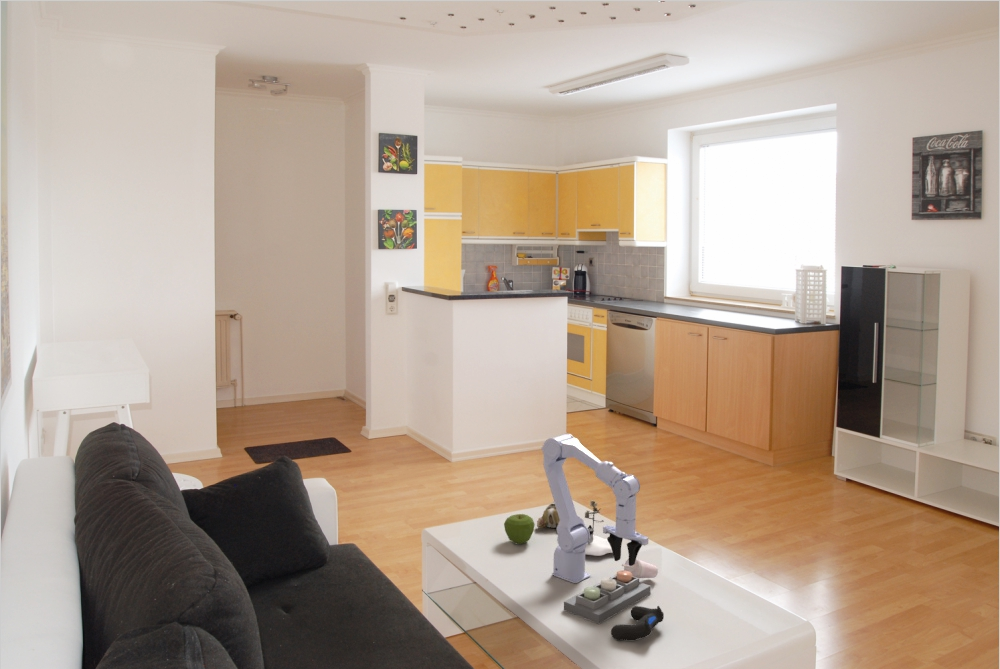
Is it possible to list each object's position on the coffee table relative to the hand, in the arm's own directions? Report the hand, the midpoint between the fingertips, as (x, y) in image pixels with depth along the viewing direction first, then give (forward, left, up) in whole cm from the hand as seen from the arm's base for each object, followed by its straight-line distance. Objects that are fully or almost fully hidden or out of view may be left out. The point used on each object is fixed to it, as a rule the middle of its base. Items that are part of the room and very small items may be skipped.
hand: (624, 562), depth 229 cm
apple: (-49, +9, -10) cm, 51 cm away
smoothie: (+1, +15, -7) cm, 17 cm away
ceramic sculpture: (-51, +30, -10) cm, 60 cm away
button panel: (0, -8, -9) cm, 12 cm away
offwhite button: (0, -8, -5) cm, 10 cm away
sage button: (0, -16, -5) cm, 17 cm away
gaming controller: (+16, -17, -10) cm, 26 cm away
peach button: (0, 0, -5) cm, 5 cm away
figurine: (-27, +22, -10) cm, 36 cm away
